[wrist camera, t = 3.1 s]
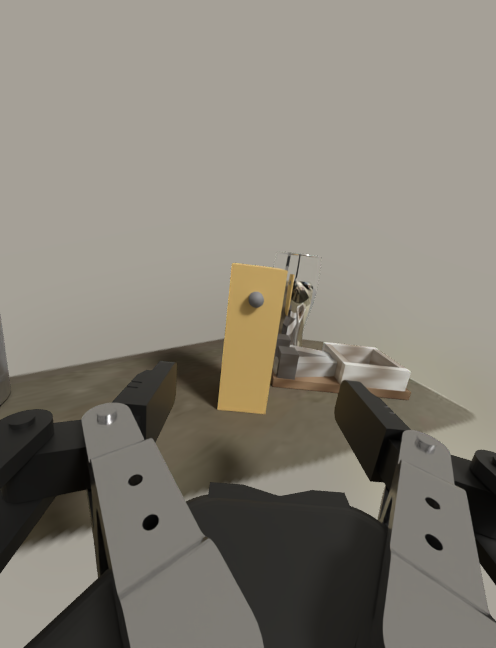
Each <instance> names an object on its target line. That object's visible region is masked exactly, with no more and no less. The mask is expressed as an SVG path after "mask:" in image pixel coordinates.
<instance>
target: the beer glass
mask: <svg viewBox="0 0 496 648" xmlns="http://www.w3.org/2000/svg"><path fill="white" fill-rule="evenodd" d="M321 258H322V257H320V256H313V255H307V254H299V253H289V252H276V257H275V261H274V266H273V268H280V269H283V270H287V271H288V273H287V280H286V286H285V292H284V299H283V305H282V311H281V317H280V324H279V330H278V334H285V335H288V336H289V338H290V340H291V342H290V345H294V346H299V347H302V337H303V331H304V327H305V324H306V321H307V319H308V316H309V313H310V311H311V308H312V305H313V303H314V299H315V296H316V292H317V288H318V282H319V274H320V266H321Z"/></svg>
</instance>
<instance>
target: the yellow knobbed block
mask: <svg viewBox="0 0 496 648" xmlns="http://www.w3.org/2000/svg"><path fill="white" fill-rule="evenodd" d="M287 273H288V271H287V270H283V269H280V268H272V267H264V266H256V265H247V264H239V263H233V264H232V268H231V278H230V289H229V298H228V309H227V319H226V328H225V338H224V348H223V358H222V368H221V378H220V388H219V398H218V408H217V410H227V411H238V412H248V413H259V414H265V412H266V405H267V399H268V393H269V386H270V380H271V374H272V368H273V361H274V355H275V349H276V342H277V336H278V330H279V324H280V317H281V311H282V305H283V299H284V292H285V286H286V280H287Z"/></svg>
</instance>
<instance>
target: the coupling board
mask: <svg viewBox="0 0 496 648" xmlns="http://www.w3.org/2000/svg"><path fill="white" fill-rule="evenodd" d="M290 342H291V340H290V338H289V336H288V335H285V334H278V336H277V342H276V349H275V355H274V361H273V368H272V374H271V382H272V386H273V387H283V388H293V389H304V390H314V391H324V392H334V393H339V389H340V385H341V382H342V381H343V380H350V381H359V382H361V383H362V384H363V385H364V386H365V387H366V388H367V389H368V390H369V391H370V392H371V393H372V394H374V395H375V396H377V397H384V398H394V399H404V400H409V397H410V394H411V392H410V391H409V390H408V389H406V386H407V383H408V380H409V377H410V373H411V371H409V370H408V369H406V368H405V367H404V366H402V365H401V364H399V363H398V362H396V361H395V360H393V359H392V358H390V357H389V356H387V355H386V354H384V353H383V352H381V351H380V350H378V349H377V348H374V347H365V346H355V345H347V344H338V343H329V342H324V343H323V348H322V351H320V350H315V349H309V348H304V347H299V346H294V345H290Z"/></svg>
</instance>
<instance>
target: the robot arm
mask: <svg viewBox="0 0 496 648" xmlns="http://www.w3.org/2000/svg"><path fill="white" fill-rule="evenodd" d="M176 379H177V363H176V362H166V361H159V362H158V364H157V365H156V366H155V367H154V369H153V370H146V371H144V372H142V373H140V374H138V375H137V376H136V377H135V378H134V379H133V380H132V381H131V382H130V383H129V384H128V385H127V387H125V389H124V390H123V391H122V392H121V393H120V394H119V395H118V396H117V397H116V398H115V399H114V401H113V402H112V403H106V404H102V405H98V406H96V407H94V408H92V409H90V410H89V411H87V412H86V413H85V414H84V415H83V417H82V420H76V421H67V422H58V423H53V415H52V413H51V412H49V411H47V410H42V409H34V410H26V411H22V412H18V413H15V414H12V415H10V416H7V417H5V418H3V419H1V420H0V489H1V490H0V573H1V572H2V570H3V569H4V568H5V566H6V565H7V564H8V562H9V561H10V559H11V558H12V557H13V555H14V554H15V552H16V551H17V550H18V548H19V547H20V546H21V544H22V543H23V541H24V540H25V539H26V537H27V536H28V534H29V533H30V532H31V530H32V529H33V527H34V526H35V525H36V523H37V522H38V521H39V519H40V518H41V516H42V515H43V514H44V512H45V511H46V509H47V508H48V507H49V505H50V504H51V503H52V501H53V500H54V498H55V497H56V496H57V495H62V494H67V493H72V492H76V491H81V490H86V492H87V499H88V505H89V512H90V518H91V525H92V532H93V538H94V545H95V554H96V564H97V572H98V579H97V580H96V581H95V582H93V584H91V585H90V586H89V587H88V588H87V589H86V590H85V591H84V592H83V593H82V594H81V595H80V596H78V597H77V598H76V599H75V600H74V601H73V602H72V603H71V604H70V605H69V606H68V607H67V608H66V609H65V610H63V611H62V612H61V613H60V614H59V615H58V616H57V617H56V618H55V619H54V620H53V621H52V622H51V623H49V624H48V625H47V626H46V627H45V628H44V629H43V630H42V631H41V632H40V633H39V634H38V635H37V636H36V637H35V638H33V639H32V640H31V641H30V642H29V643H28V644H27V645H26V646H25V647H24V648H496V621H495V620H494V619H493V618H492V616H491V615H490V613H489V610H488V606H487V601H486V595H485V590H484V585H483V579H482V574H481V569H480V564H481V565H482V567H483V568H484V570H485V571H486V572H487V574H488V575H489V576H490V578H491V579H492V580H493V582H494V583H495V585H496V453H494V452H491V451H486V450H477V451H476V452H475V455H474V457H473V459H472V461H470V460H467V459H463V458H460V457H456V456H453V455H450V452H449V450H448V449H447V447H446V446H445V445H444V444H442V443H441V442H440V441H438V440H436V439H435V438H433V437H432V436H430V435H427V434H425V433H422V432H419V431H415V430H411V429H410V428H409V427H408V426H407V425H406V424H405V423H404V422H403V421H402V420H401V419H400V418H399V417H398V416H397V415H396V414H394V412H393V411H392V410H391V409H390V408H388V406H387V405H386V404H385V403H384V402H383V401H382V400H381V399H380V398H378V397H377V396H375V395H374V394H372V393H371V392H370V391H369V390H368V389H367V388H366V387H365V386H364V385H363V384H362V383H361V382H359V381H350V380H343V381H342V382H341V385H340V389H339V393H338V397H337V401H336V405H335V412H334V413H335V420H336V422H337V424H338V426H339V427H340V429H341V431H342V433H343V434H344V436H345V438H346V440H347V441H348V443H349V445H350V447H351V448H352V450H353V452H354V454H355V455H356V457H357V459H358V461H359V463H360V464H361V466H362V468H363V470H364V471H365V473H366V475H367V477H368V478H369V480H370V481H373V482H384V483H385V485H386V486H385V489H384V492H383V496H382V500H381V505H380V510H379V515H378V520H376V519H375V518H374V517H372V516H371V515H369V514H367V513H365V512H363V511H361V510H359V509H357V508H354V507H351V506H350V505H349V503H348V500H347V498H346V496H345V493H341V492H328V491H315V490H310V491H306V492H300V493H295V494H289V495H284V496H277V495H273V494H271V493H268V492H264V491H261V490H258V489H255V488H252V487H249V486H246V485H239V484H227V483H214V482H210V487H209V494H208V495H203V496H199V497H196V498H193V499H191V500H188V501H186V502H185V500H184V498H183V496H182V494H181V492H180V490H179V488H178V486H177V484H176V482H175V480H174V478H173V476H172V475H171V473H170V471H169V469H168V467H167V465H166V463H165V461H164V459H163V457H162V455H161V453H160V451H159V449H158V448H157V446H156V444H155V442H156V440H157V438H158V436H159V434H160V432H161V430H162V428H163V425H164V423H165V421H166V419H167V417H168V415H169V413H170V411H171V409H172V407H173V404H174V401H175V396H176ZM10 393H11V386H10V379H9V372H8V365H7V359H6V352H5V343H4V336H3V330H2V323H1V317H0V405H1V404H2V403H3V402H4V401H5V400H6V399H7V398H8V396H9V394H10Z"/></svg>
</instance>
